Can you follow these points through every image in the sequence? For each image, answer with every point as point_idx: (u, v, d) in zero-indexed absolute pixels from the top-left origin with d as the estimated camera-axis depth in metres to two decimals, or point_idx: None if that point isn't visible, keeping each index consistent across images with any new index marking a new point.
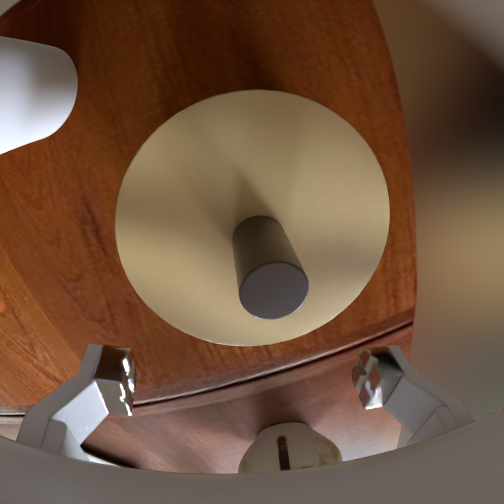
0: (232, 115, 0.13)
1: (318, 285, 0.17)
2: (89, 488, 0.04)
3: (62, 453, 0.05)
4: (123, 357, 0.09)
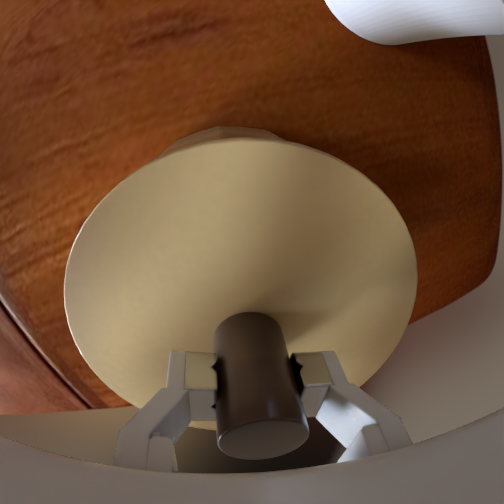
0: (396, 298, 0.12)
1: None
2: (89, 488, 0.04)
3: (172, 470, 0.06)
4: (212, 363, 0.09)
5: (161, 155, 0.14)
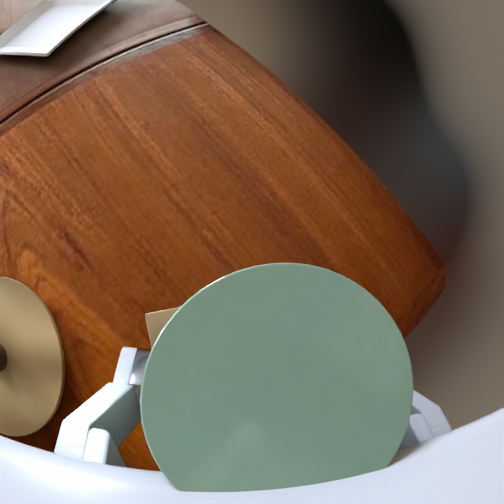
0: (26, 422, 0.18)
1: None
2: (89, 488, 0.04)
3: (106, 462, 0.05)
4: None
5: None
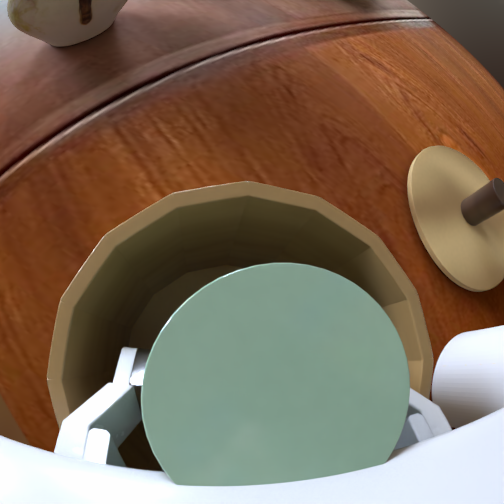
0: (499, 268, 0.22)
1: (435, 190, 0.23)
2: (89, 488, 0.04)
3: (107, 462, 0.05)
4: None
5: None
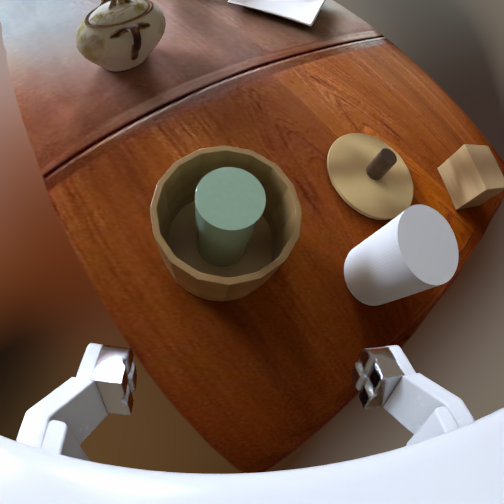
0: (398, 207, 0.40)
1: (346, 159, 0.41)
2: (89, 488, 0.04)
3: (62, 453, 0.05)
4: (123, 357, 0.09)
5: None
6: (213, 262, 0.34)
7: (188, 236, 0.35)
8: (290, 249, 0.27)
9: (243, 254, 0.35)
